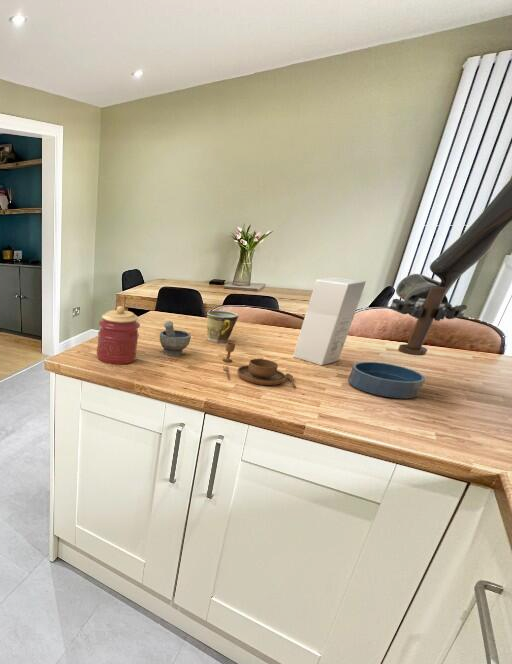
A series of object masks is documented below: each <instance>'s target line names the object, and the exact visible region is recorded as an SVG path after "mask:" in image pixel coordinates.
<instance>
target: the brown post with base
mask: <svg viewBox="0 0 512 664" xmlns="http://www.w3.org/2000/svg"><path fill="white" fill-rule="evenodd" d="M446 290H447V288H446V287H438V286H433V287H431V289H430V291H429V294H428V296H427V299H426V301H425V303H424V306H423V313H422V315H421V317H420V319H417V320H416V323H415V324H414V327H413V330H412V331H411V334H410V336H409V339H408V341H407V343H406V344H400V345H399V346H398V349H397V351H398V352H400V353H402V354H405V355H410V356H417V357H418V356H419V357H420V356H421V357H422V356H426V355H427V353H428V348H425V347H424V346H423V344H424V343H425V340H426V338H427V336H428V334H429V331H430V329H431V328H432V324H433V322H434V321H435V320H434V317H435V315H436V313H437V311H438V308H439V306H440V304H441V302H442V299H443V297H444V295H445V293H446Z"/></svg>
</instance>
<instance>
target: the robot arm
mask: <svg viewBox="0 0 512 664" xmlns="http://www.w3.org/2000/svg"><path fill="white" fill-rule="evenodd" d="M510 223H512V177H511V178H509V181H508V182H507V183H506V184H504V186H503V187H502V188H501V190H500V191H499V192H498V193H497V194H496V196H495V197H494V198H493V199H492V200H491V201H490V203H489V204H488V205H487V206H486V208H485V209H484V210H483V211H482V212H481V214H480V215H479V216H477V218H476V219H475V220H474V221H473V222H472V224H470V226H469V227H468V228H467V229H466V230H465V231H464V232H463V233H462V234H461V235H460V236H459V237H458V238H457V239H456V240H455V241H454V242H453V243H452V244H451V245H449V247H447V248H446V249H445V250H444V251H443V252H442V253H440V254H439V256H437V257H436V258H435V259H434V260H433V261H432V262H431V263H430V265H429V270H430V271H431V272H432V274H434V275H435V276H436V277H437V278H439V279H440V281H438V280H435V279H433V278H431V277H429V276H426V275H424V274H421V273H412V274H408V275H407V276H405V277H404V278H403V279H401V280H400V281H399V283H398V284H397V286H396V289H395V293H396V295H397V296H398V297H399V298H400V299H398V298H392V301H391V304H390V306H389V309H390V310H392V311H394V312H397V313H399V314H402V315H409V316H410V317H413V318H415V319H417V320H418V319H420V317H421V315H422V313H423V306H424V303H425V301H426V299H427V296H428V294H429V291H430V289H431V287H433V286H438V287H446V288H447V290H446V293H445V295H444V297H443V299H442V302H441V304H440V306H439V308H438V311H437V313H436V315H435V317H434V320H433V321H435V322H436V321H437V322H440V320H444V319H447V320H453V319H458V318H461V317H463V316H464V315H465V313H466V310H467V308H468V305H466V304H460V305H456V304H455V306H453V305H452V304H451V303H449V300H448V299H449V298H448V297H447V294H448V293H449V291H450V290H451V288H452V287H453V285H454V284H455V283H456V282H457V281H458V280H459V278H460V277H461V276H462V275H463V274H464V273H466V272H467V271H468V270H469V269H470V268H472V267H473V266H475V265H476V264H477V263H478V262H479V261H480V260H481V259H482V258H484V257H485V255H486V254H487V253H488V252H489V251H490V250H491V249H492V248H493V246H494V244H495V242H496V241H497V239H498V237H499V236H500V235H501V233H502V232H503V231H504V230H505V228H506V227H508V225H509V224H510Z"/></svg>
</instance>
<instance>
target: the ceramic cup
mask: <svg viewBox="0 0 512 664" xmlns="http://www.w3.org/2000/svg"><path fill="white" fill-rule="evenodd" d="M238 318H239V314H238V313H237V312H234V311H229V310H209V311H207V313H206V339H207V340H208V341H209V342H212V343H216V344H217V343H219V344H224V343H228V342H229V339H230V336H231V334H232V332H233V330H234V327H235V325H236V323H237V321H238Z"/></svg>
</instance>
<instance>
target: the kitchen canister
mask: <svg viewBox="0 0 512 664" xmlns="http://www.w3.org/2000/svg"><path fill="white" fill-rule="evenodd" d="M101 318H102V319H101V320H100V321H99V322H98V326H99V331H98V332H97V335H98V337H97V348H96V357H97V359H98V360H100V361H102V362H104V363H107V364H114V365H124V364H131V363H132V362H135V360H136V357H137V354H138V353H137V352H138V351H137V349H138V341H139V340H138V339H139V336H140V333H138V332H139V328H140V327H141V325H140V324H141V323H140V322H139V321H138V320H139V316H138V315H136V314H135V313H134V312H133V311H129V310H126V309H125V307H124V306H122V305H119V306H117V307H116V309H113V310H108V311H107V312H105V313H103V314H102V315H101Z"/></svg>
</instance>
